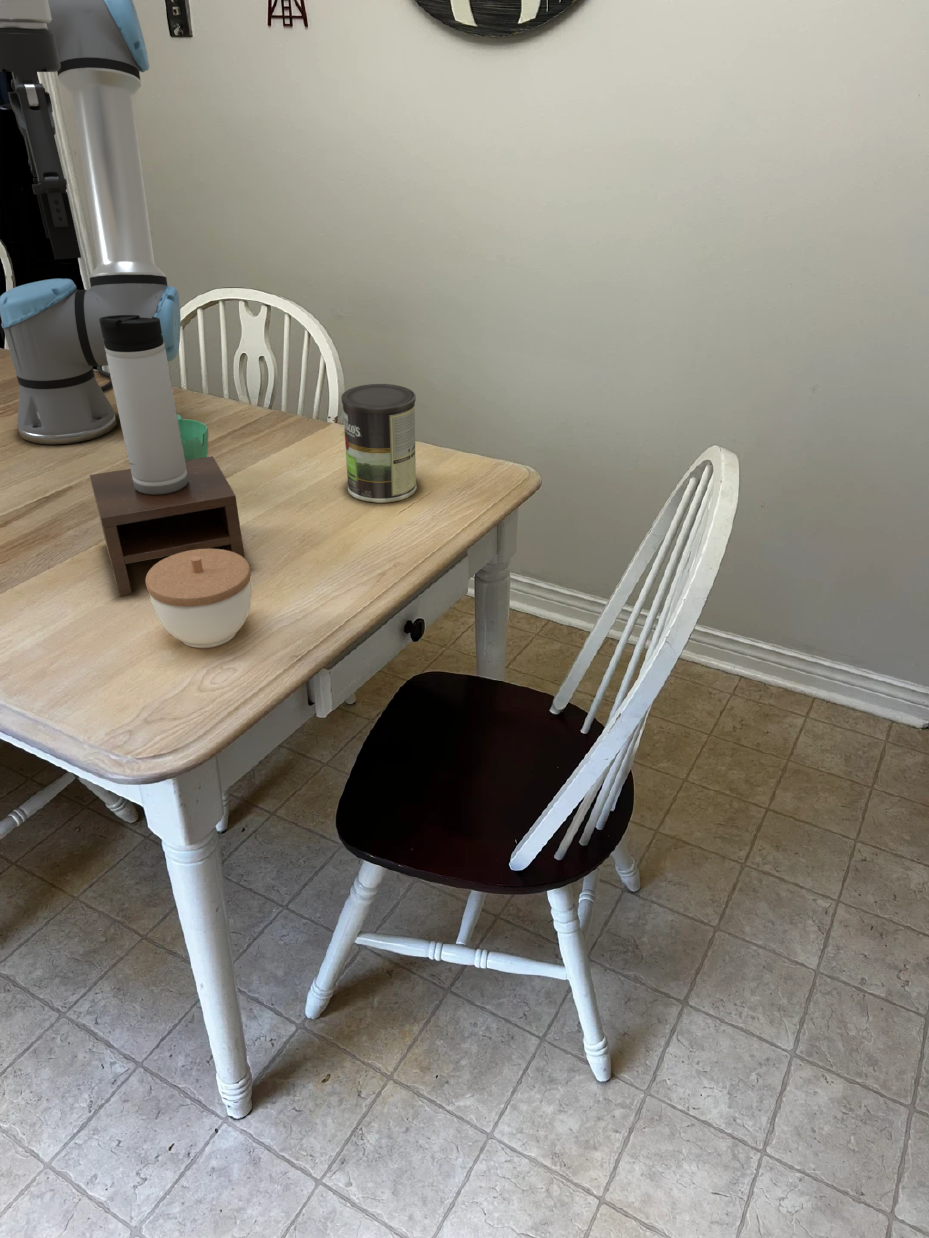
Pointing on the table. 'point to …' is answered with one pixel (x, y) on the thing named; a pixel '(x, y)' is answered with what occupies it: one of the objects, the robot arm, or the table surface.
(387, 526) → the table surface
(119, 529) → the shelf
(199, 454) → the mug
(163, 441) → the travel mug
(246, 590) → the trinket box
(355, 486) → the coffee can
